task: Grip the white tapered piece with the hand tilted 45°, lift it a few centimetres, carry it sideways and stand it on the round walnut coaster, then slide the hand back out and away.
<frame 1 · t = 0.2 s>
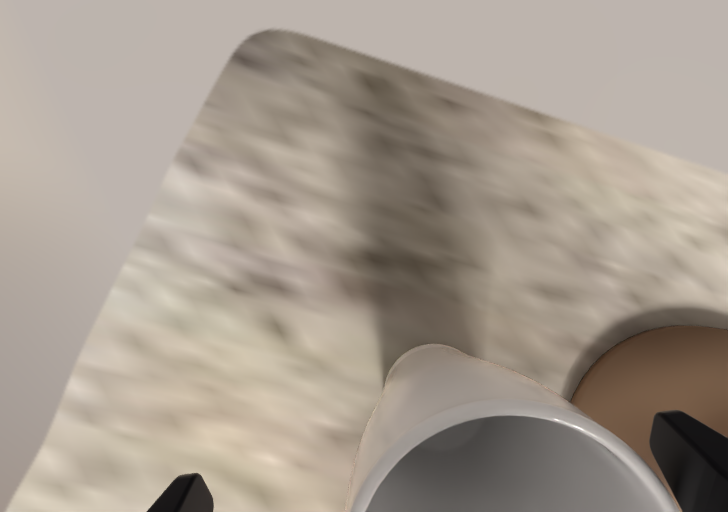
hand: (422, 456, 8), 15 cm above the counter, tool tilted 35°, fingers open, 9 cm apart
white tapered piece: (433, 391, 23), on the counter, touching gripper
walnut coaster: (693, 454, 22), on the counter
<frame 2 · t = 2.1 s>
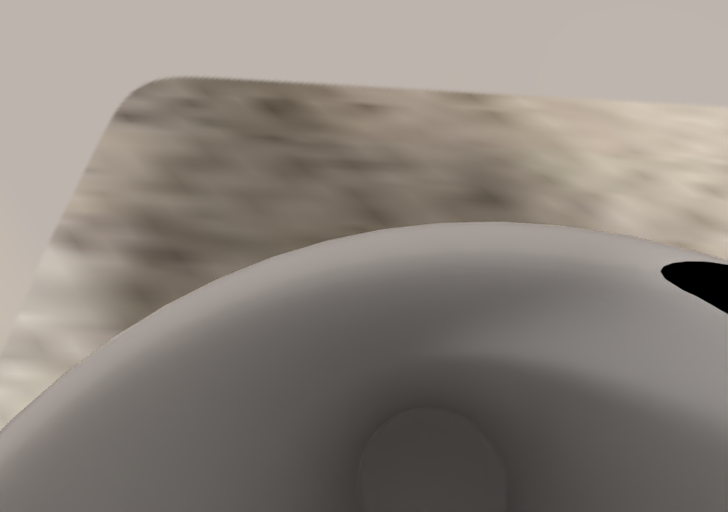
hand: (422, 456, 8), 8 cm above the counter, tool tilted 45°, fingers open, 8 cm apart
white tapered piece: (429, 475, 15), on the counter, touching gripper
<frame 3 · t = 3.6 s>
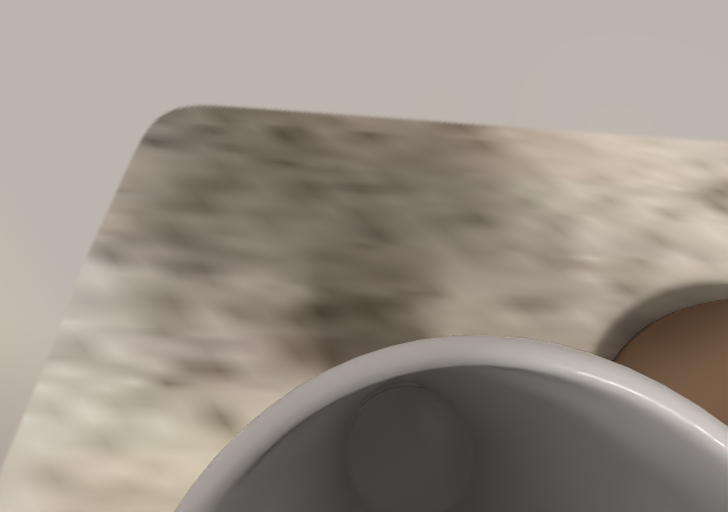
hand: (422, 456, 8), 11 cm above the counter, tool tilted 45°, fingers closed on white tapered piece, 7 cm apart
white tapered piece: (405, 443, 18), point 1 cm above the counter, touching gripper
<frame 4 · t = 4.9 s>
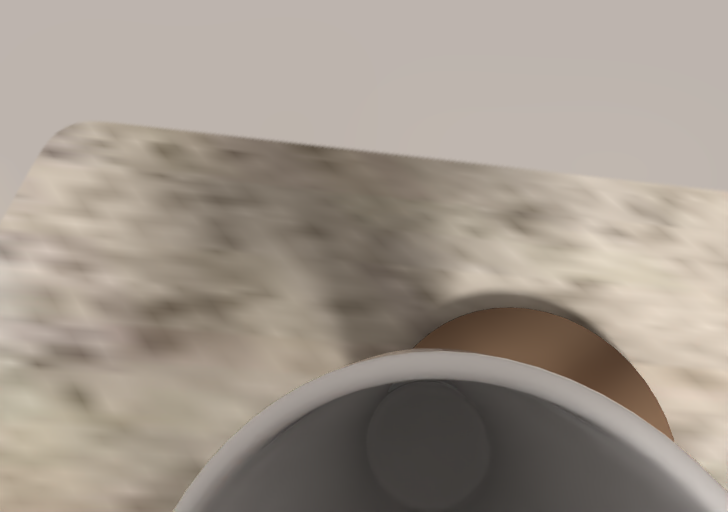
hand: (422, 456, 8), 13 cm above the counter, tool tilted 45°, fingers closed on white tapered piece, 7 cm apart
white tapered piece: (426, 435, 18), point 2 cm above the counter, touching gripper
walnut coaster: (515, 449, 20), on the counter
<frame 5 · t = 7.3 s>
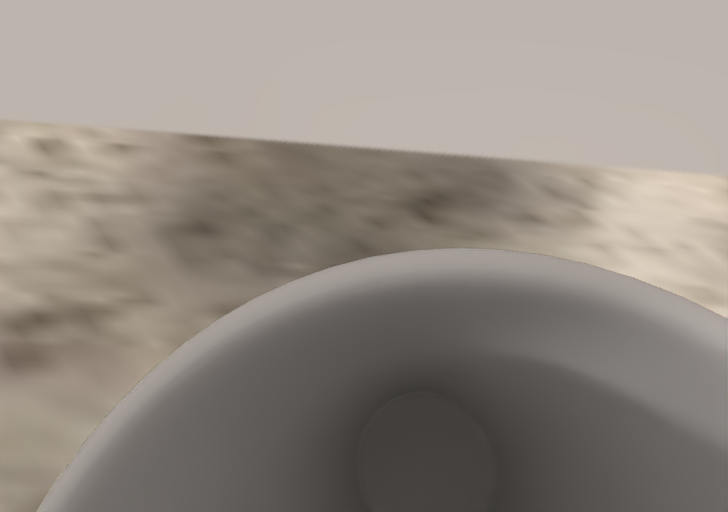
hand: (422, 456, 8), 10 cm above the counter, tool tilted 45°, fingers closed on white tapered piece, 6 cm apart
white tapered piece: (424, 455, 16), point 1 cm above the counter, touching gripper, walnut coaster
when the fingers open (10 cm above the counter, at t = 7.4 s): white tapered piece stays where it is, resting on walnut coaster.
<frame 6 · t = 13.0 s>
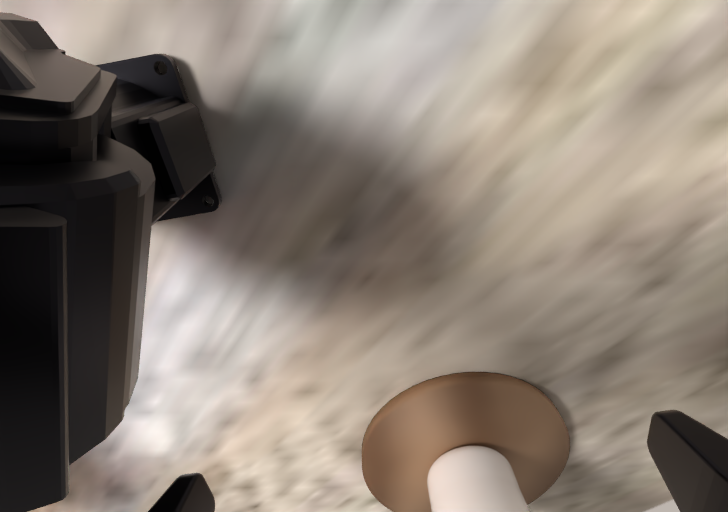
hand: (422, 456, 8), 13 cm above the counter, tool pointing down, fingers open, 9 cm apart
white tapered piece: (466, 466, 27), point 1 cm above the counter, touching walnut coaster
walnut coaster: (461, 448, 27), on the counter
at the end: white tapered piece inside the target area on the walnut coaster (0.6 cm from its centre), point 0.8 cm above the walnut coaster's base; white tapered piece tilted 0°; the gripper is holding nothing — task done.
